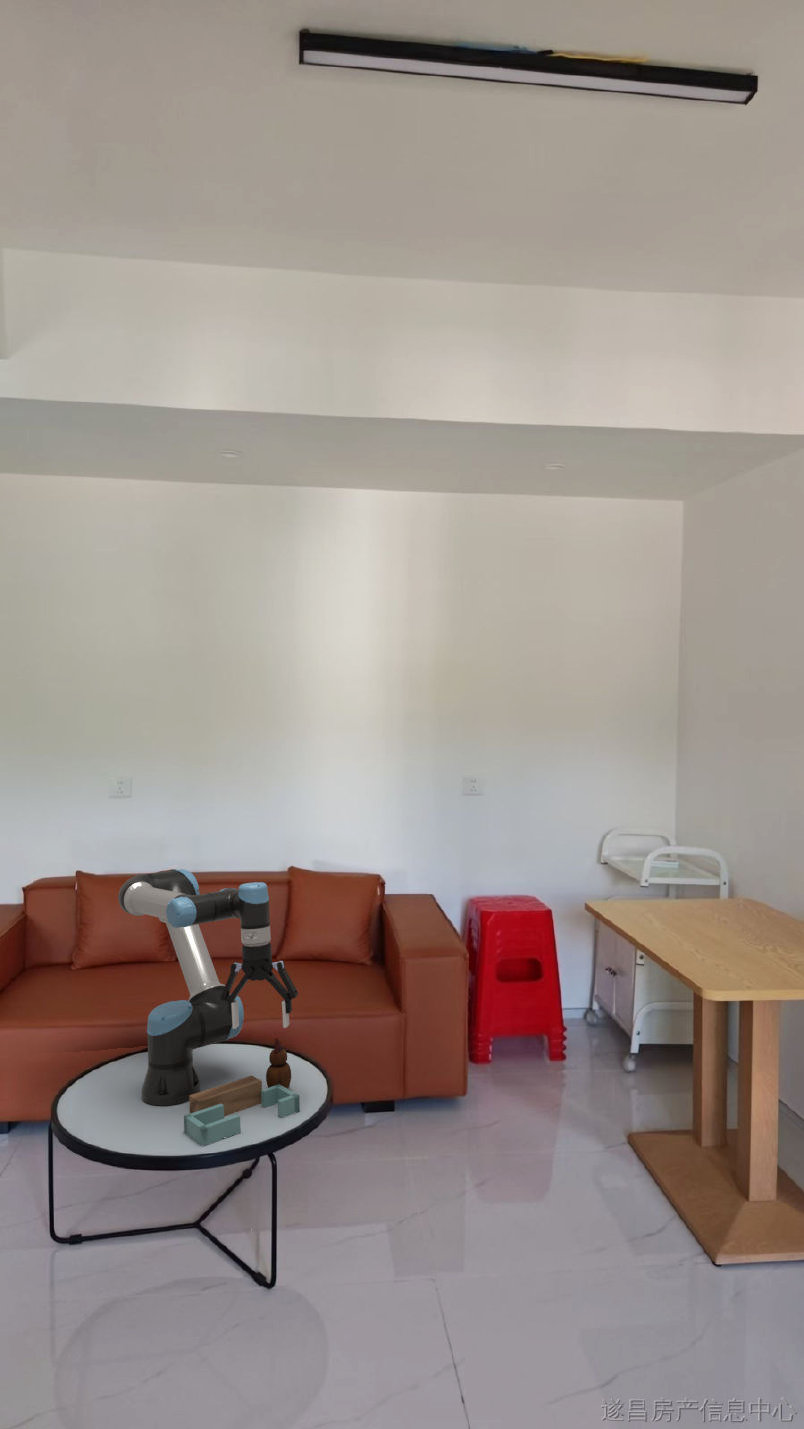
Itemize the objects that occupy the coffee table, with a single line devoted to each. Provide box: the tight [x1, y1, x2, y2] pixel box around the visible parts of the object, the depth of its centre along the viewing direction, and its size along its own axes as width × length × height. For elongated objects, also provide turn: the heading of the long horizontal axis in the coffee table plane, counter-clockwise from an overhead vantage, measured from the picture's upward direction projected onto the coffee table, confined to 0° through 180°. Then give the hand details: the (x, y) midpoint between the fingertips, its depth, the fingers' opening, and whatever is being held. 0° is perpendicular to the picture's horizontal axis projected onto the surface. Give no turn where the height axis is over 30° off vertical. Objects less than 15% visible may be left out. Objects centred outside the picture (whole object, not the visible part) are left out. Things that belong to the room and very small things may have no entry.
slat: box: [188, 1075, 263, 1117], centre depth 219 cm, size 5×18×6 cm, turn 131°
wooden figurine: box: [265, 1037, 292, 1089], centre depth 230 cm, size 7×6×15 cm
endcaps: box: [183, 1084, 301, 1147], centre depth 213 cm, size 10×27×4 cm, turn 130°
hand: (261, 1026), depth 221 cm, fingers open, 13 cm apart
